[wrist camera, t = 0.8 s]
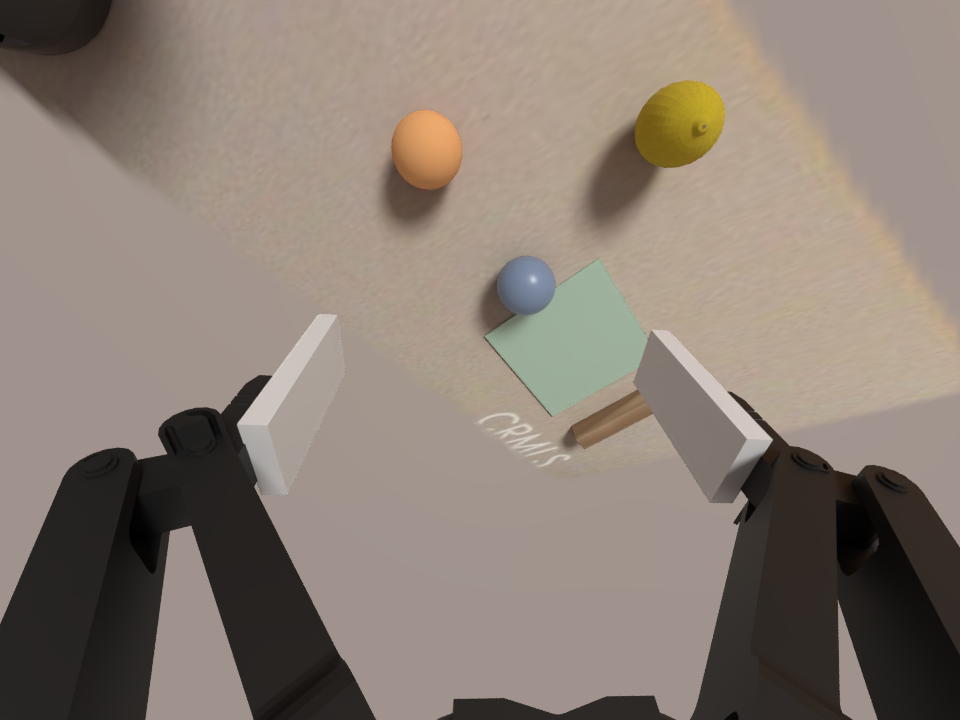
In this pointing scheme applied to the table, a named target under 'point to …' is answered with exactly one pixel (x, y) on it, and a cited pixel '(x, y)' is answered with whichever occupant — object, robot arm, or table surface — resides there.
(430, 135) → the ball
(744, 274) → the table surface
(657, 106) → the lemon
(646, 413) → the rail
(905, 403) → the table surface
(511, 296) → the ball
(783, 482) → the robot arm
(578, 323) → the mark
